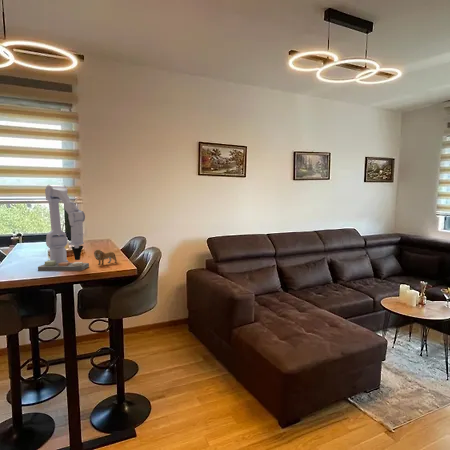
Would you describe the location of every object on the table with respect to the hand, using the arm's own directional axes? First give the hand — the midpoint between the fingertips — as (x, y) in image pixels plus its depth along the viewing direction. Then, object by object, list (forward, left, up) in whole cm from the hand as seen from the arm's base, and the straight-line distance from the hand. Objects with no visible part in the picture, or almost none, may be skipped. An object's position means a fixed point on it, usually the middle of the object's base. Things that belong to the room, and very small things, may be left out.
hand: (77, 259), depth 177 cm
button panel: (0, -7, -5) cm, 8 cm away
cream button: (0, 0, -4) cm, 4 cm away
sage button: (0, -14, -3) cm, 14 cm away
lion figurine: (-12, +11, -5) cm, 17 cm away
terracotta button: (0, -7, -4) cm, 8 cm away
